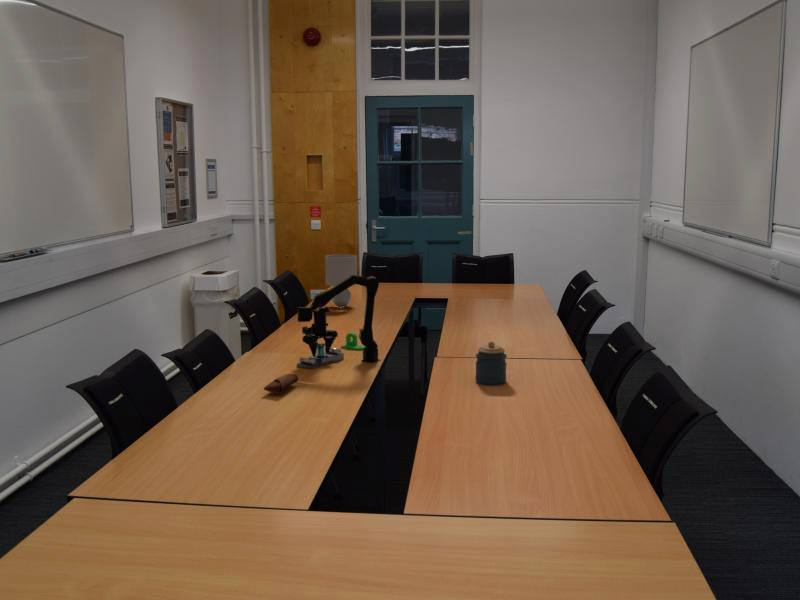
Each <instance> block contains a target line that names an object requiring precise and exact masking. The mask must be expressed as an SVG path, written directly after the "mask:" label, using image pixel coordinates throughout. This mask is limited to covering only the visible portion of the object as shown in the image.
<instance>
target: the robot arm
mask: <svg viewBox="0 0 800 600" xmlns="http://www.w3.org/2000/svg"><path fill="white" fill-rule="evenodd" d="M354 284H356V285H358V286H362V287H364V289H365V296H366V298H365V306H364V307H365V308H364V316H363V317H364V319H363V325H362V328H358V329H359V330H358V331H359V334H358V335H357V338H358V339H359V341H360V343H361V344H362V346H365V348H363V350H362V360H361V362H364V363H371V364H374V363H376V362H379V361H381V359H379V348H378V347H379V345H378V343H377V341H376V340H374V334H373V333H374V332H373V320H374V319H373V318H374V308H375V299H376V298H375V297H376V296H377V292H378V290H379V285H380V282H379V280H378V279H377V278H376V277H375V276H373V275H371V276H363V275H358V274H357V275H355V274H353V275H351V276H350V277H348V278H347V279H345V280H344V281H342V282H341V283H339V284H337V285H336V286H332V287H331V288H329V289H326V290H324V291H321V292H319V293H317V294H315V295H314V296H313V299H312V300H313V301H312V303H311V304H310V305H309V306H306V307H302V306H298V307H297V323H305V322H306V323H309V322H311V321H312V320H313V323H311V326H310V327H308V326H302V328H301V333H302V334H303V336H302V343H305V344H306V345H308V347H309V349H310V353H311V354H312V356H314V357H315V355H317V346H318V343H319V342H318V340H319V339H323V341H324V344H325V347H324V351H325V350H326V352H325V353H328V352H329V350H330V348H332V345H333V343H334V342H335V340H336V339H337V338H338V336H339V335H338V334H339V333H338V332H337V330H334V329H333V330H332V329H327V327H328V326H329V323H328V322H327V313H330V312H331V309H330V308H329V307H328V306H326V305H327V304H328V303H329V302H331V301H332V298H333V297H335V296H336V295H338V294H339V293H341V292H343V291H344V290H346V289H349V288H351V287H352V286H355V285H354Z"/></svg>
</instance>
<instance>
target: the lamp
mask: <svg viewBox="0 0 800 600" xmlns="http://www.w3.org/2000/svg"><path fill="white" fill-rule="evenodd" d="M357 262H358V256H357V255H356V254H329V255H325V256H324V265H325V267H324V268H325V269H324V270H325V271H324V272H325V285H326V286H330V287H334V286H336V285H337V284H339V283H341V282H342V281H344V280H345V279H347V278H348V277H350V276H351V275H353V274H355V275H357V276H358V274H357V273H358V266H357V265H358V263H357ZM353 286H357V284H354V285H353ZM331 301H332V303H333V305H334V306H338V307H343V306H346V307H347V306H349V304H350V303H351V301H352V293H351V291H350V289H349V288H347V289H346V290H344V291H343V292H341V293H339V294H338V295H336V296H335V297H333V298H332V299H331Z"/></svg>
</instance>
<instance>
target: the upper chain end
mask: <svg viewBox="0 0 800 600" xmlns="http://www.w3.org/2000/svg"><path fill="white" fill-rule="evenodd" d="M344 355H345V354H344V352H342V350H341V348H340V349H339V348H335V347H331V348H330V350H329V352H328V353H326V350H325V349H324V358H317V354H316V355H315V357H314V356H313V355H312V356H309V357H307V358H309V359H315V360H316V362H321V363H322V362H326V361H329V360H333V363H336V362H338V361H342V360H344V359H345V358H344V357H345V356H344Z"/></svg>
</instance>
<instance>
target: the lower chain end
mask: <svg viewBox="0 0 800 600" xmlns="http://www.w3.org/2000/svg"><path fill="white" fill-rule="evenodd" d="M333 363H334V362H333V360H329V361H326V362H322V363H321V362H316V360H315V359H309V358H308V357H299V361H298V363H296V368H301V369H307V370H312V369H316V368H319V367H322V366H326V365H329V364H333Z"/></svg>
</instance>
